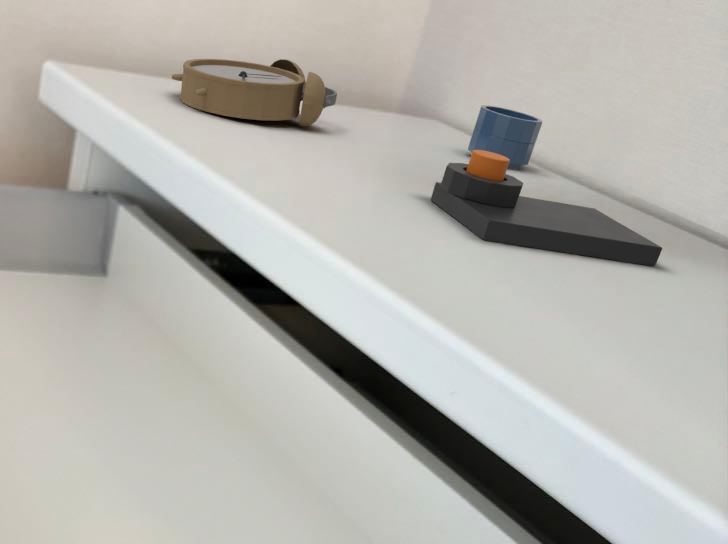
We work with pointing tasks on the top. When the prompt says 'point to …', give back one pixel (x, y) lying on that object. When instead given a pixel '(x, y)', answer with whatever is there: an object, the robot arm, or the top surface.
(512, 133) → the cup
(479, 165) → the button
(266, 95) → the alarm clock
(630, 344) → the top surface
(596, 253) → the scale
